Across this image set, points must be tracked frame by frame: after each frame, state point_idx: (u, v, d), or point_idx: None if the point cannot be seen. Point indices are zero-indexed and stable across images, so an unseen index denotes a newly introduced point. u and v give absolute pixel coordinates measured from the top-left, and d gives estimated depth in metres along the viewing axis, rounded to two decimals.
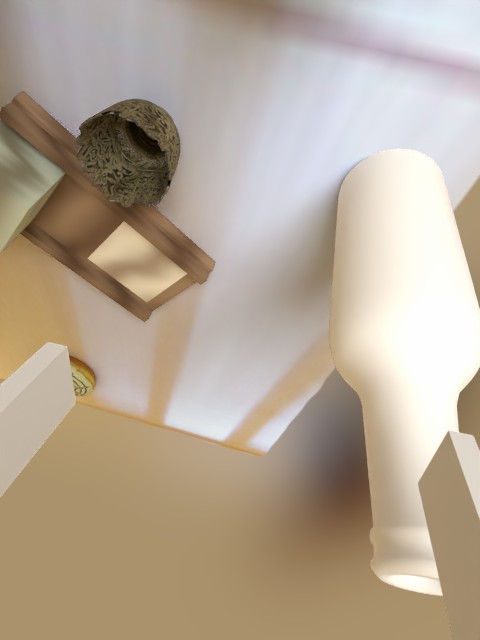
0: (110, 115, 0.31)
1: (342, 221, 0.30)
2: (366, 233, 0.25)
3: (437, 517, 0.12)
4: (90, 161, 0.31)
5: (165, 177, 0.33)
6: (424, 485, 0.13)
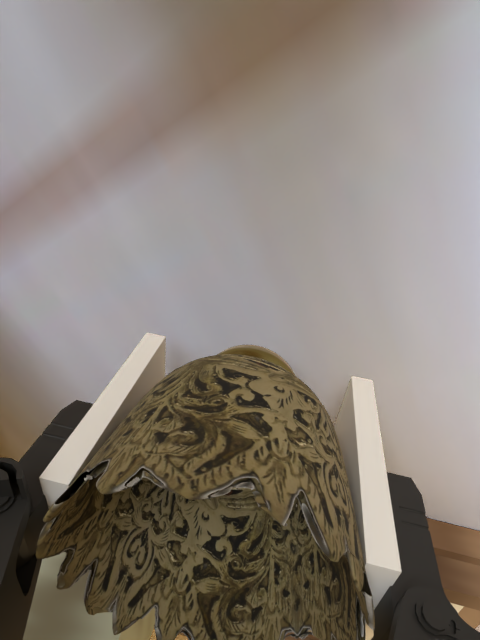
0: None
1: None
2: None
3: None
4: (135, 581, 0.11)
5: None
6: (336, 427, 0.15)
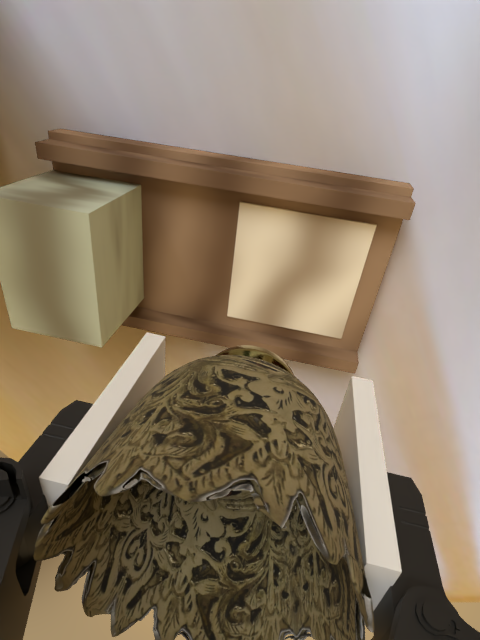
0: None
1: None
2: None
3: None
4: (134, 582, 0.11)
5: None
6: (336, 427, 0.15)
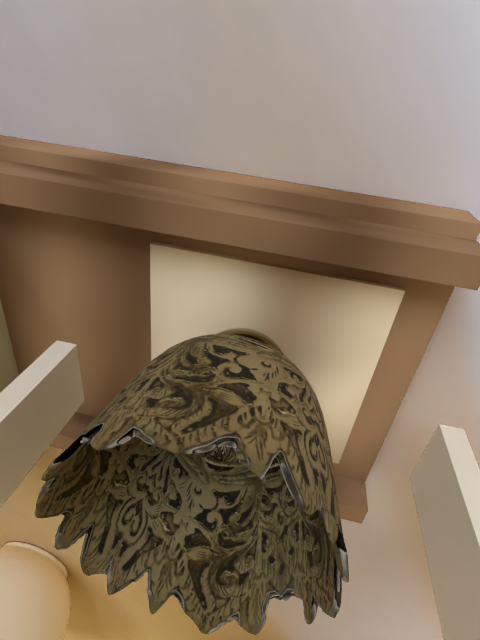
0: None
1: None
2: None
3: (428, 509, 0.12)
4: (129, 546, 0.12)
5: None
6: (416, 478, 0.13)
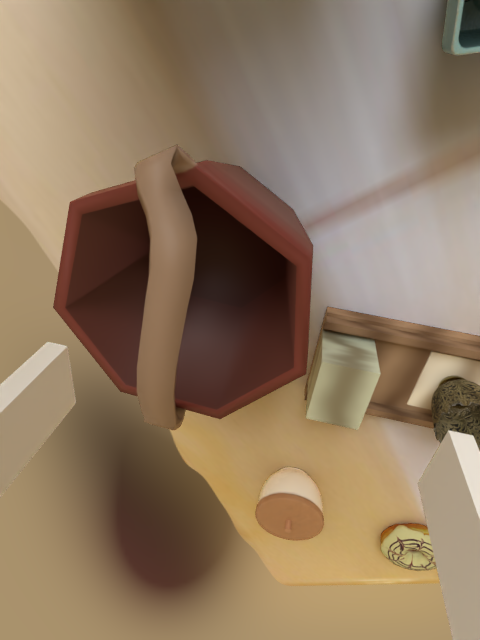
0: None
1: None
2: None
3: (437, 517, 0.12)
4: (440, 435, 0.46)
5: None
6: (424, 485, 0.13)
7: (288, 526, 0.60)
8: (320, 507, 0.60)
